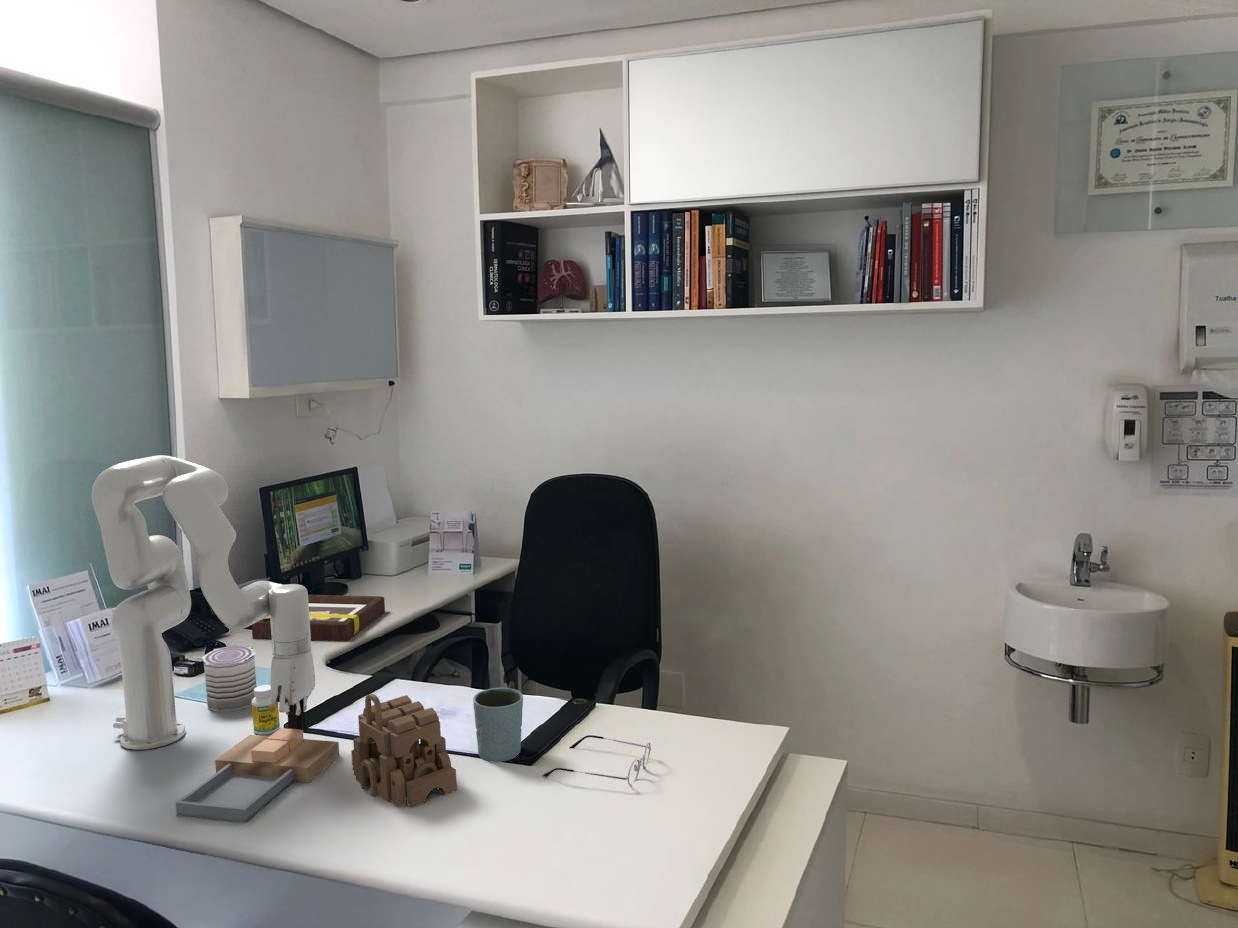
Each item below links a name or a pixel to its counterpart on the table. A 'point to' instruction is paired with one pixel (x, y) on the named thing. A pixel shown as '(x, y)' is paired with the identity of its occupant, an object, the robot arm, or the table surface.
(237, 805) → the tray
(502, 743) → the green cup
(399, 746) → the wooden puzzle
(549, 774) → the eyeglasses
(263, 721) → the supplement bottle
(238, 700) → the can
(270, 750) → the tile front
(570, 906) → the table surface
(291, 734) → the tile rear
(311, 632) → the picture frame
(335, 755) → the board
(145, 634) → the robot arm
